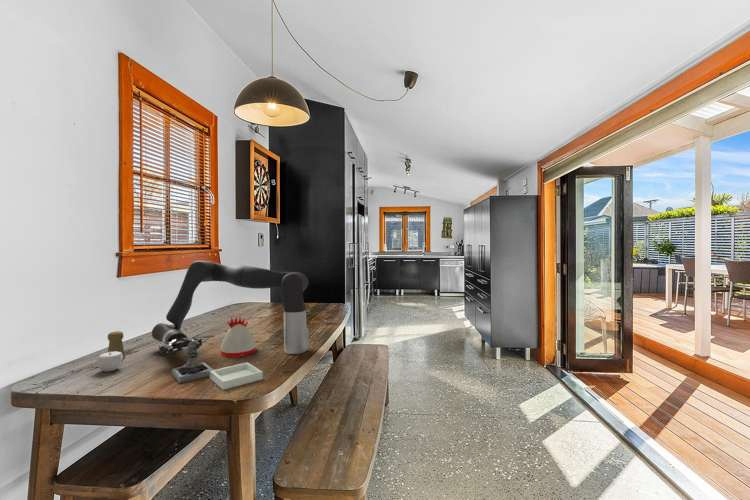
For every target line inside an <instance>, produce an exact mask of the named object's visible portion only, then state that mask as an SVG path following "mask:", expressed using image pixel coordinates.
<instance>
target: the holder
mask: <svg viewBox="0 0 750 500" xmlns="http://www.w3.org/2000/svg"><path fill="white" fill-rule="evenodd" d="M201 363H202V365H201V368H200V369H199V371H198V372H196V373H191V374H187V372H185V370H184V367H183V366H179V367H176V368H175V367H174V368H172V369H171V371H172V372H171V374H172V377H174V379H176V381H177V382H178V383H179V384H182V383H186V382H190V381H194V380H199V379H202V378H203V379H204V378H208V377H210V371H212V370H214V369H213V368H212V367H211V366H210V365H208V364H207V363H206V362H201ZM200 370H201V371H200ZM182 374H184V375H182ZM185 374H187V375H185Z"/></svg>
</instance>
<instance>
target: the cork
mask: <svg viewBox="0 0 750 500" xmlns="http://www.w3.org/2000/svg"><path fill="white" fill-rule="evenodd" d="M123 339H124V333H123V331H118V330H117V331H112V332H110V333H108V334H107V340H108V348H107V349H108V350H107V352H114V351H117V352H121V353H122V354H123V360H125V359H126V355H125V348H124V343H123Z"/></svg>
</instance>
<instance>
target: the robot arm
mask: <svg viewBox="0 0 750 500" xmlns="http://www.w3.org/2000/svg"><path fill="white" fill-rule="evenodd" d="M205 282H223V283H229V284H231V285H233V286H236V287H240V288H245V289H255V290H256V289H257V290H258V289H279V290H280V294H281V295H280V296H281V304H282V308H283V349H284V350H283V352H284V353H285V354H287V355H288V354H289V355H299V354H302V353H305V352H307V351H310V350H309V327H307V304H306V302H305V301H304V292H305V290H306V289H307V288H308V286H309V279H308V277H307V276H306V275H305V274H304V273H302V272H299V271H277V270H272V269H267V268H262V267H257V266H249V265H226V264H223V263H221V264H220V263H217V262H214V261H210V260H196V261H195V260H194V261H193V262H192V263H190V265H189V266H188V269H187V270H186V274H185V276H184V279H183V282H182V283H181V287H180V288H179V292H178V293H177V296H176V297H175V300H174V301H173V303H172V305H171V306H170V309H169V310H168V312H167V314H166V316H165V317H166V318H165V319H166V320H167V321H168V322H170V323H171V324H173V325H171V324H167V323H164V322H160V323H157V324H156V325H154V327H153V328H152V330H151V336H152V338H153V340H156V341H158V342H159V343H158V351H159V353H160V354H164V353H165V352H166V353H167V354H170V355H173V354H174V353H177V352H181V351H183V350H184V349H188V345H189V344H191V341H193V343H195V344H196V345H197V350H199V348H201V347H202V346H203V339H202V338H201V337H198V336H195V337H194V338H188V336H187V335H186V333H184V332H182V331H181V329H182V325H183V322H184V320H185V319H186V316H187V315H188V313H189V311H190V309H191V308H192V307H191V306H192V303H193V298H194V295H195V294H194V293H195V292H196V289H197V288H198V286H199V285H200V284H201V283H205Z"/></svg>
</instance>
